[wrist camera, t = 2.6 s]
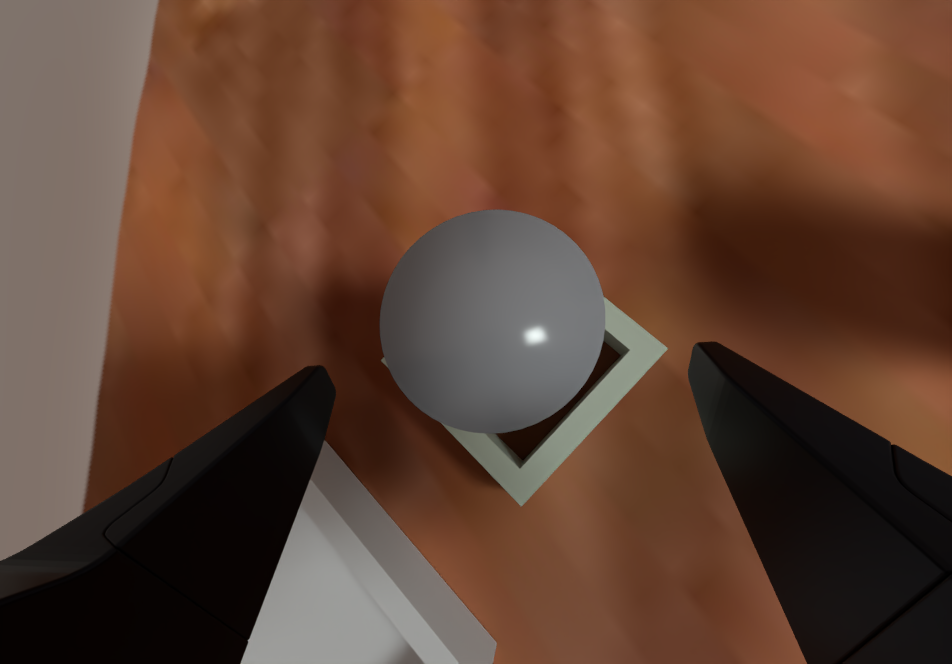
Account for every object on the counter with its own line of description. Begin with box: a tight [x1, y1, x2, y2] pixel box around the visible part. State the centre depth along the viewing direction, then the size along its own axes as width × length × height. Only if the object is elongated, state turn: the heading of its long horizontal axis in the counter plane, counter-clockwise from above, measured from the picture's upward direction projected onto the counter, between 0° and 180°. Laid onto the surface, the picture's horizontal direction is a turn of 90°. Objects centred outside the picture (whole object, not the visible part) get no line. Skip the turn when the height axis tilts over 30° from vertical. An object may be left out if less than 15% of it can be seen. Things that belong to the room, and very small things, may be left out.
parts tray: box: [241, 440, 497, 664], centre depth 16 cm, size 13×13×3 cm
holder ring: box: [381, 296, 668, 506], centre depth 17 cm, size 8×8×2 cm
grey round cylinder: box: [380, 210, 605, 434], centre depth 13 cm, size 5×5×10 cm
